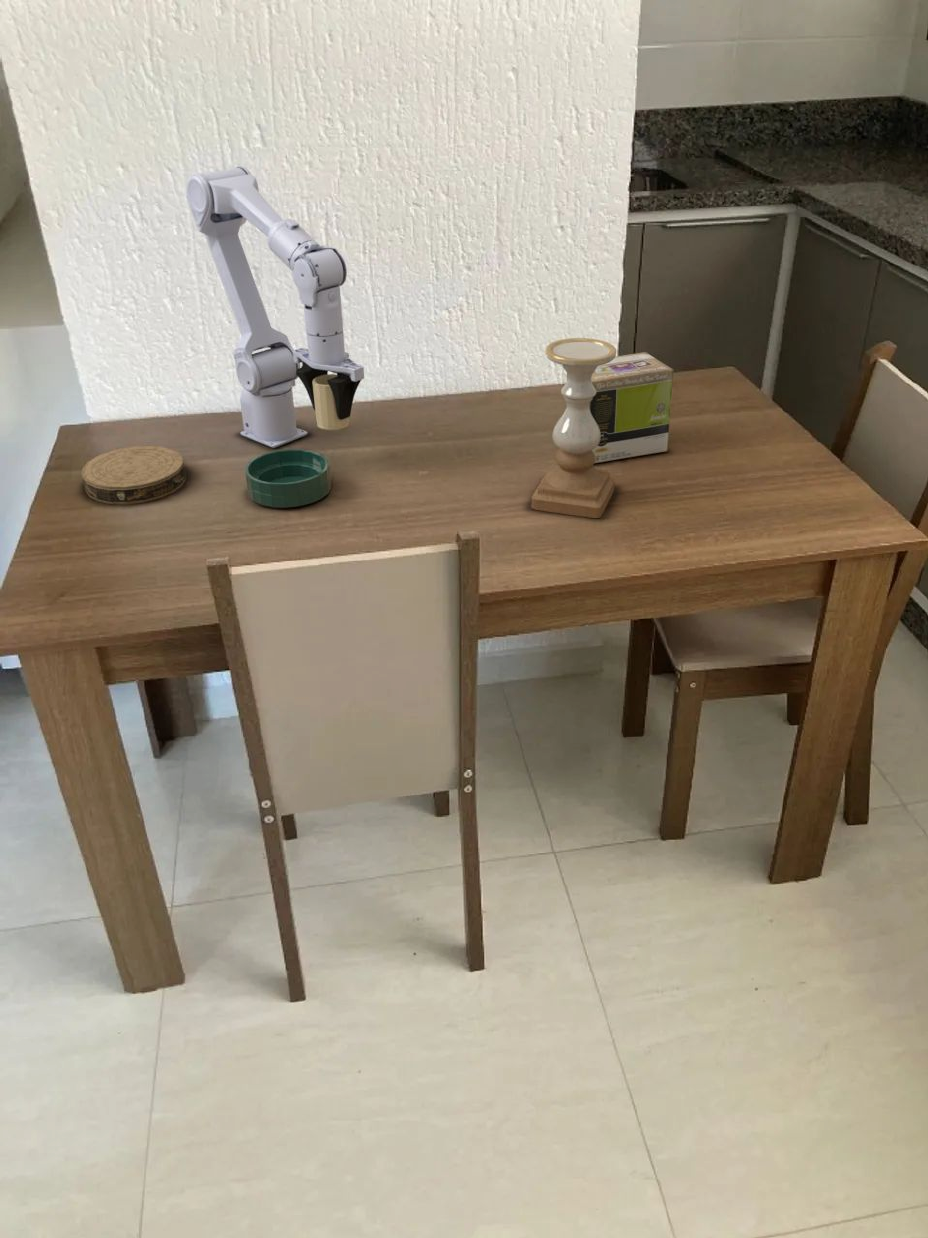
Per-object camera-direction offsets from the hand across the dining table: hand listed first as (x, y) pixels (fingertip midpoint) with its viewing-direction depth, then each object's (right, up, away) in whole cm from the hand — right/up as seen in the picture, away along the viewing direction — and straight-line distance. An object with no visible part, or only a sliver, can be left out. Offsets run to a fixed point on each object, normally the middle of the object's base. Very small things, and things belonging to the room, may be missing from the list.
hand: (332, 413), depth 167 cm
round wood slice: (-32, -11, 0) cm, 34 cm away
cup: (0, -1, +1) cm, 2 cm away
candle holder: (+39, -15, -7) cm, 42 cm away
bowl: (-6, -13, -4) cm, 15 cm away
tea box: (+47, -4, +9) cm, 48 cm away
